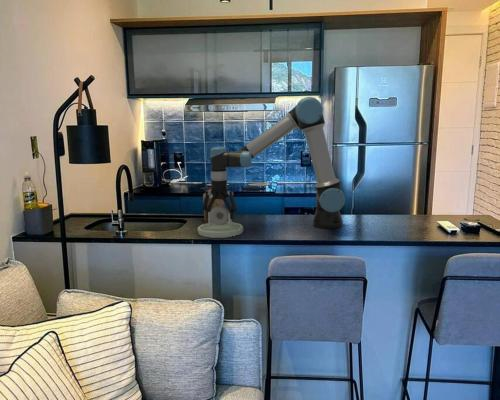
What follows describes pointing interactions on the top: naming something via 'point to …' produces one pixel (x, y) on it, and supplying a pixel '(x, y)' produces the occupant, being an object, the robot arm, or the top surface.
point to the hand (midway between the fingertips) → (220, 225)
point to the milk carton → (216, 203)
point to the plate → (220, 230)
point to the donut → (214, 215)
